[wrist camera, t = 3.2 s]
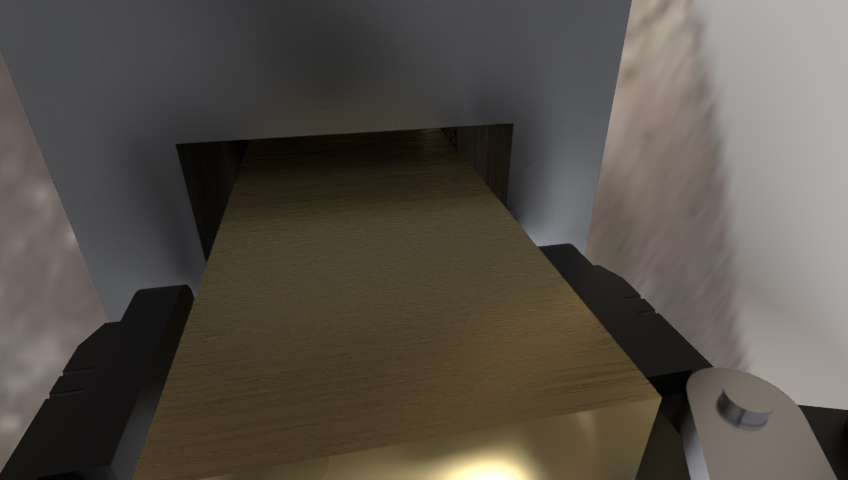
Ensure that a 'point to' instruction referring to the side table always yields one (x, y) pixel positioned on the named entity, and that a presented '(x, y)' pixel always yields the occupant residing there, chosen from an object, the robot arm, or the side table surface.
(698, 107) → the side table surface
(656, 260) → the side table surface
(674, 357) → the robot arm
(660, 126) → the side table surface
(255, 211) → the brass block
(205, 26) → the grey peg holder block
